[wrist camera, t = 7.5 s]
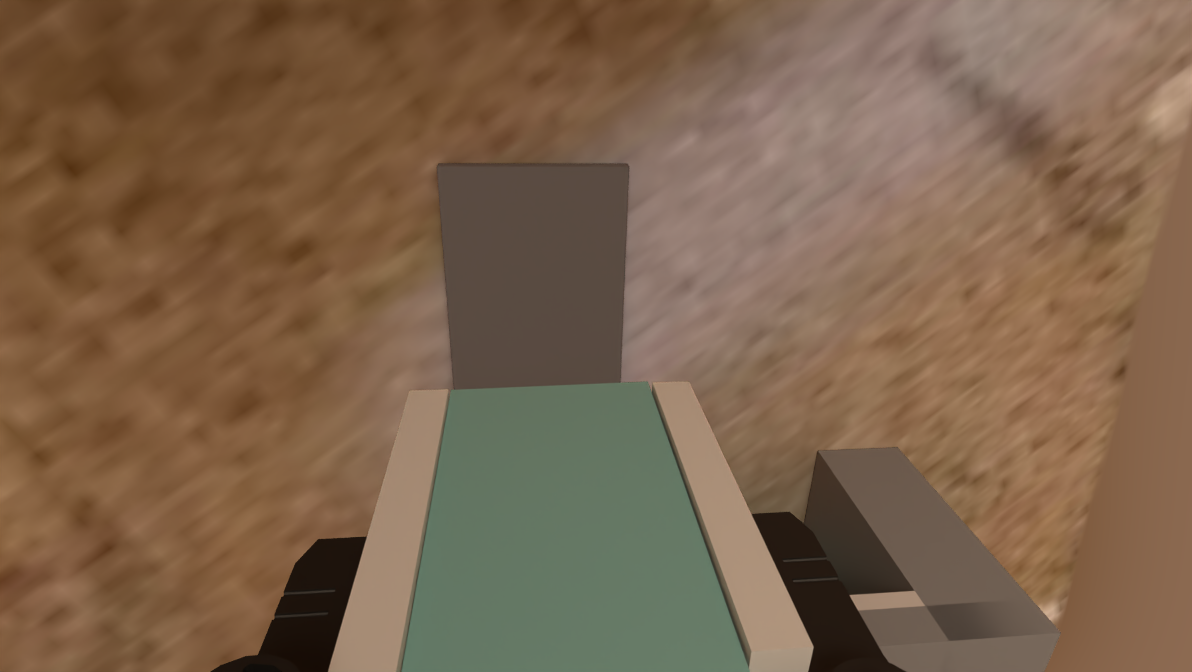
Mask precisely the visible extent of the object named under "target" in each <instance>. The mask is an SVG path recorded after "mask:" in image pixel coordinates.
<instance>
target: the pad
mask: <svg viewBox="0 0 1192 672" xmlns="http://www.w3.org/2000/svg"><path fill="white" fill-rule="evenodd" d="M437 175H438V188H439V201H440V214H441V227H442V241H443V254H444V267H445V280H446V293H447V306H448V319H449V332H450V345H451V358H452V371H453V384H454V390H460V389H483V388H507V387H531V386H554V385H578V384H601V383H620V378H621V354H622V330H623V305H624V281H625V257H626V233H627V208H628V184H629V166H628V165H627V164H457V163H439V164H438V166H437Z"/></svg>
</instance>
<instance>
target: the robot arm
mask: <svg viewBox="0 0 1192 672" xmlns="http://www.w3.org/2000/svg"><path fill="white" fill-rule="evenodd" d="M652 395H653V398H654V401H655V404H656V406H657V409H658V412H659V415H660V418H661V421H662V424H663V426H664V429H665V432H666V435H667V438H668V441H669V443H670V446H671V449H672V452H673V455H674V458H675V460H676V463H677V466H678V469H679V472H680V475H681V477H682V480H683V483H684V486H685V489H686V492H687V494H688V497H689V500H690V503H691V506H692V509H693V512H694V514H695V517H696V520H697V523H698V526H699V529H700V531H701V534H702V537H703V540H704V543H705V546H706V548H707V551H708V554H709V557H710V560H711V563H712V565H713V568H714V571H715V574H716V577H717V580H718V582H719V585H720V588H721V591H722V594H723V597H724V600H725V602H726V605H727V608H728V611H729V614H730V617H731V619H732V622H733V625H734V628H735V631H736V634H737V636H738V639H739V642H740V645H741V648H742V651H743V653H744V656H745V659H746V662H747V665H748V668H749V670H750V672H906V671H904V670H902V669H901V668H899V667H897V666H895V665H893V664H892V663H889V662H888V661H887V659H886V658H885V656H884V655H883V653H882V651H881V650H880V648H879V646H878V644H877V643H876V641H875V639H874V637H873V636H872V634H871V632H870V630H869V629H868V627H867V625H866V623H865V622H864V620H863V618H862V616H861V615H860V613H859V611H858V609H857V608H856V606H855V604H854V602H853V601H852V599H851V597H850V595H849V594H848V592H847V590H846V588H845V587H844V585H843V583H842V581H839V579H838V575H837V573H836V571H835V569H834V568H833V566H832V564H831V562H830V561H828V560H827V555H826V554H825V552H824V550H823V548H822V547H821V545H820V543H819V541H818V540H817V538H816V536H815V534H814V533H813V531H811V530H810V529H809V528H808V527H807V526H805V525H804V524H803V523H802V522H801V521H800V520H798V519H797V518H796V517H795V516H794V515H793V514H791V513H790V512H779V513H760V514H751V512H750V510H749V508H748V506H747V504H746V502H745V500H744V497H743V495H742V493H741V491H740V489H739V487H738V485H737V483H736V480H735V478H734V476H733V474H732V472H731V470H730V468H729V466H728V463H727V461H726V459H725V457H724V455H723V453H722V451H721V448H720V446H719V444H718V442H717V440H716V438H715V436H714V434H713V431H712V429H711V427H710V425H709V423H708V421H707V419H706V417H705V414H704V412H703V410H702V408H701V406H700V404H699V402H698V399H697V397H696V395H695V393H694V391H693V389H692V387H691V385H690V382H689V381H684V382H654V383H653V385H652ZM448 404H449V389H442V390H411V391H409V394H408V397H407V401H406V404H405V408H404V411H403V414H402V418H401V421H400V425H399V428H398V432H397V435H396V439H395V442H394V446H393V449H392V452H391V456H390V459H389V463H388V466H387V470H386V473H385V477H384V480H383V483H382V487H381V490H380V494H379V497H378V501H377V504H376V508H375V511H374V514H373V518H372V521H371V525H370V528H369V532H368V535H367V537H351V538H333V539H318V540H317V541H316V542H315V543H314V544H313V545H312V546H311V547H310V549H309V550H308V551H307V552H306V553H305V554H304V555H303V556H302V557H301V558H300V559H299V560H298V561H297V562H296V563H295V565H294V568H293V570H292V573H291V575H290V577H289V580H288V582H287V585H286V587H285V590H284V596H283V597H281V600H280V602H279V604H278V607H277V609H276V612H275V618H274V620H272V622H271V624H270V627H269V629H268V631H267V634H266V636H265V639H264V641H263V644H262V646H261V649H260V651H259V654H258V655H255V656H245V657H242V658H239V659H237V660H234V661H231V662H228V663H226V664H223V665H220V666H219V667H217V668H216V669H214V670H213V671H211V672H401V671H402V665H403V659H404V654H405V648H406V642H407V637H408V631H409V625H410V620H411V614H412V608H413V603H414V597H415V591H416V586H417V580H418V574H419V569H420V563H421V557H422V552H423V546H424V540H425V535H426V529H427V523H428V518H429V512H430V506H431V501H432V495H433V489H434V484H435V478H436V472H437V467H438V461H439V455H440V450H441V444H442V438H443V433H444V427H445V421H446V416H447V410H448Z"/></svg>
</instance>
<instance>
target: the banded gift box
mask: <svg viewBox="0 0 1192 672" xmlns="http://www.w3.org/2000/svg"><path fill="white" fill-rule="evenodd" d="M401 672H750V670H749V668H748V665H747V662H746V659H745V656H744V653H743V651H742V648H741V645H740V642H739V639H738V636H737V634H736V631H735V628H734V625H733V622H732V619H731V617H730V614H729V611H728V608H727V605H726V602H725V600H724V597H723V594H722V591H721V588H720V585H719V582H718V580H717V577H716V574H715V571H714V568H713V565H712V563H711V560H710V557H709V554H708V551H707V548H706V546H705V543H704V540H703V537H702V534H701V531H700V529H699V526H698V523H697V520H696V517H695V514H694V512H693V509H692V506H691V503H690V500H689V497H688V494H687V492H686V489H685V486H684V483H683V480H682V477H681V475H680V472H679V469H678V466H677V463H676V460H675V458H674V455H673V452H672V449H671V446H670V443H669V441H668V438H667V435H666V432H665V429H664V426H663V424H662V421H661V418H660V415H659V412H658V409H657V406H656V404H655V401H654V398H653V395H652V392H651V389H650V387H649V384H648V382H625V383H601V384H578V385H554V386H531V387H507V388H483V389H460V390H451V393H450V399H449V404H448V410H447V416H446V421H445V427H444V433H443V438H442V444H441V450H440V455H439V461H438V467H437V472H436V478H435V484H434V489H433V495H432V501H431V506H430V512H429V518H428V523H427V529H426V535H425V540H424V546H423V552H422V557H421V563H420V569H419V574H418V580H417V586H416V591H415V597H414V603H413V608H412V614H411V620H410V625H409V631H408V637H407V642H406V648H405V654H404V659H403V665H402V671H401Z"/></svg>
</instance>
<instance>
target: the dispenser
mask: <svg viewBox="0 0 1192 672" xmlns="http://www.w3.org/2000/svg"><path fill="white" fill-rule="evenodd" d="M804 525H805V526H807V527H808V528H809V529H810V530H811V531H813V533H814V534H815V536H816V538H817V540H818V541H819V543H820V545H821V547H822V548H823V550H824V552H825V554H826V555H827V560H828V561H830V562H831V564H832V566H833V568H834V569H835V571H836V573H837V575H838V579H839V581H842V583H843V585H844V587H845V588H846V590H847V592H848V594H849V595H850V597H851V599H852V601H853V602H854V604H855V606H856V608H857V609H858V611H859V613H860V615H861V616H862V618H863V620H864V622H865V623H866V625H867V627H868V629H869V630H870V632H871V634H872V636H873V637H874V639H875V641H876V643H877V644H878V646H879V648H880V650H881V651H882V653H883V655H884V656H885V658H886V659H887V661H888V662H889V663H892V664H893V665H895V666H897V667H899V668H901V669H902V670H904V671H906V672H1044V671H1045V669H1046V667H1047V664H1048V662H1049V660H1050V657H1051V655H1052V652H1053V650H1054V648H1055V646H1056V643H1057V641H1058V639H1059V636H1060V634H1061V632H1060V631H1059V630H1058V629H1057V628H1056V627H1055V625H1054V624H1053V623H1052V622H1051V621H1050V620H1049V619H1048V617H1047V616H1046V615H1045V614H1044V613H1043V612H1042V611H1041V610H1040V608H1039V607H1038V606H1037V605H1036V604H1035V603H1034V602H1033V600H1032V599H1031V598H1030V597H1029V596H1028V595H1027V594H1026V592H1025V591H1024V590H1023V589H1022V588H1021V587H1020V586H1019V585H1018V583H1017V582H1016V581H1015V580H1014V579H1013V578H1012V577H1011V575H1010V574H1009V573H1008V572H1007V571H1006V570H1005V569H1004V568H1003V566H1002V565H1001V564H1000V563H999V562H998V561H997V560H996V558H995V557H994V556H993V555H992V554H991V553H990V552H989V550H988V549H987V548H986V547H985V546H984V545H983V544H982V543H981V541H980V540H979V539H978V538H977V537H976V536H975V535H974V533H973V532H972V531H971V530H970V529H969V528H968V527H967V526H966V524H965V523H964V522H963V521H962V520H961V519H960V518H959V516H958V515H957V514H956V513H955V512H954V511H953V510H952V509H951V507H950V506H949V505H948V504H947V503H946V502H945V501H944V499H943V498H942V497H941V496H940V495H939V494H938V493H937V491H936V490H935V489H934V488H933V487H932V486H931V485H930V484H929V482H928V481H927V480H926V479H925V478H924V477H923V476H922V474H921V473H920V472H919V471H918V470H917V469H916V468H915V467H914V465H913V464H912V463H911V462H910V461H909V460H908V459H907V457H906V456H905V455H904V454H903V453H902V452H901V451H900V449H899V448H898V447H894V448H871V449H848V450H825V451H818V453H817V459H816V464H815V469H814V474H813V480H812V485H811V490H810V495H809V501H808V506H807V511H806V517H805V522H804Z"/></svg>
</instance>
